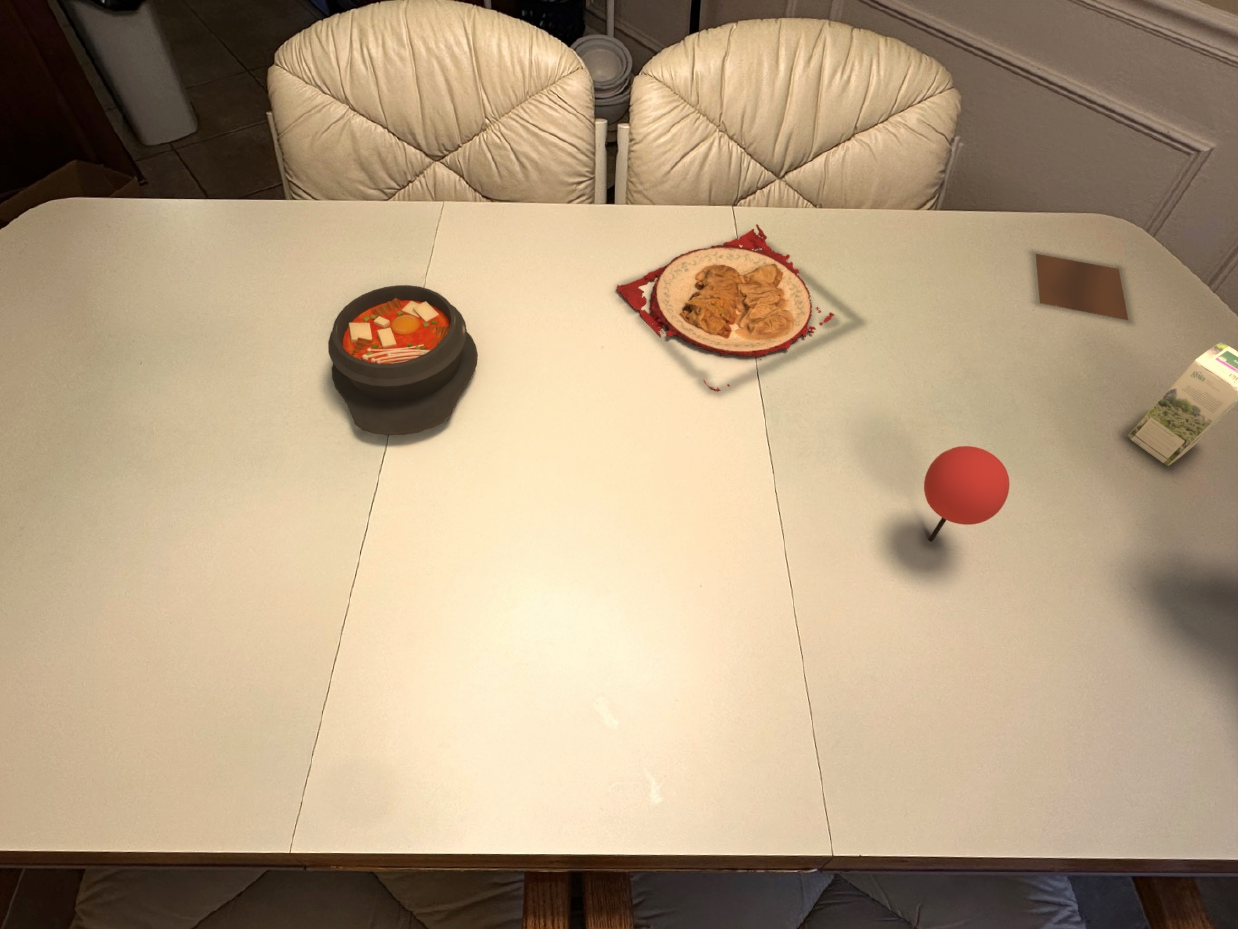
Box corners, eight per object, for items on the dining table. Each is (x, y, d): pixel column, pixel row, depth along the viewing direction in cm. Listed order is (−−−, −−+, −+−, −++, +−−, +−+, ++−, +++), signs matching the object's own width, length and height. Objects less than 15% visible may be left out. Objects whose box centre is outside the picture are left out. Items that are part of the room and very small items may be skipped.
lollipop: (967, 530, 84) (1027, 448, 73) (954, 584, 80) (1016, 506, 68) (900, 505, 86) (948, 421, 74) (884, 556, 82) (933, 476, 70)
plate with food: (614, 296, 108) (614, 277, 105) (752, 236, 116) (755, 217, 114) (713, 400, 96) (716, 382, 94) (858, 326, 105) (865, 307, 102)
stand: (1115, 274, 113) (1118, 268, 113) (1124, 325, 106) (1128, 319, 105) (1033, 258, 115) (1036, 253, 114) (1036, 308, 108) (1040, 302, 107)
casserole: (483, 437, 91) (473, 390, 85) (327, 452, 89) (305, 406, 83) (476, 303, 106) (468, 254, 99) (343, 314, 104) (325, 265, 98)
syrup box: (1189, 451, 92) (1273, 368, 81) (1162, 472, 90) (1245, 390, 79) (1147, 421, 95) (1223, 338, 84) (1120, 441, 93) (1194, 358, 81)
